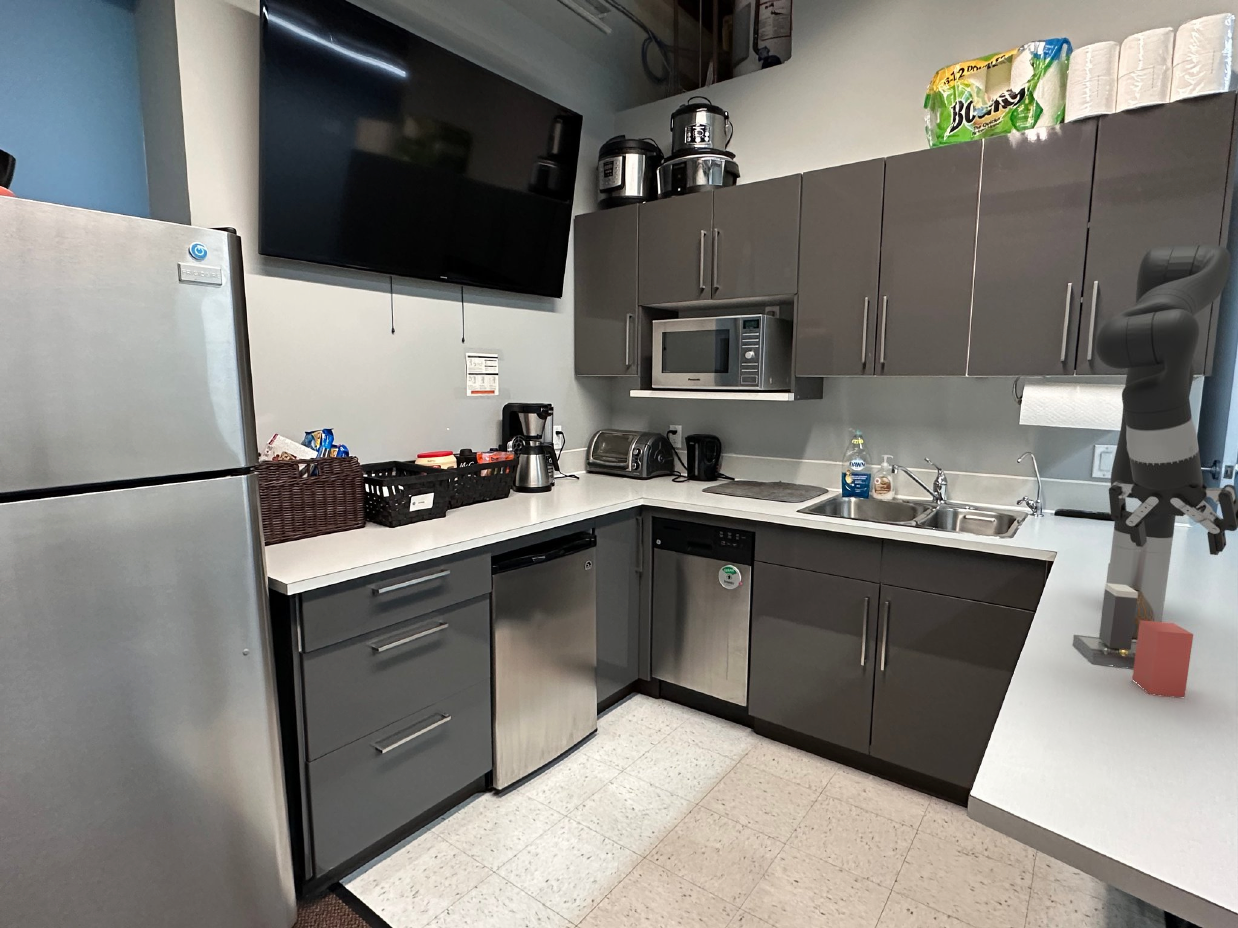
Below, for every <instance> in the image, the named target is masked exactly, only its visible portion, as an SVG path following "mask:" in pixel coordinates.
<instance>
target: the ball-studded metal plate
mask: <svg viewBox="0 0 1238 928" xmlns="http://www.w3.org/2000/svg"><path fill="white" fill-rule="evenodd" d="M1072 639H1073V640H1072V646H1073V647H1074V648H1075V649H1076V650H1077V651H1078V652H1079V653H1080V654H1081V655H1082V656H1083V657H1084V658H1085V659H1086V658H1087V659H1088V660H1087V659H1086V660H1087V661H1088V662H1089V661H1090V662H1091V665H1096V664H1099V665H1098V666H1104V665H1113V666H1116V667H1115V668H1120V667H1128V668H1134V662H1135V655H1136V647H1137V640H1136V641H1133V640H1132V643H1131V650H1127V649H1118V648H1109V647H1108V646H1107V645H1106V644H1105V643H1104V642H1102V641H1101V640H1100V639H1099V636H1090V635H1079V634H1073V638H1072ZM1090 662H1089V663H1090ZM1128 668H1127V669H1128Z"/></svg>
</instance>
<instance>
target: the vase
mask: <svg viewBox="0 0 1238 928" xmlns="http://www.w3.org/2000/svg"><path fill="white" fill-rule="evenodd" d="M1132 589H1133V590H1135V591H1137V592H1138V596H1137V604H1136V612H1135V620H1134V628H1133V635H1132V639H1138V631H1139V623H1140V620H1142V621H1155V615H1154V611H1153V608H1152V606H1151V605H1150V603H1149V602H1148V601H1147V599H1146V598H1145V597H1144V595H1143V592H1142V591H1141V590H1139V589H1136V588H1132Z"/></svg>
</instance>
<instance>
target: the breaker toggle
mask: <svg viewBox="0 0 1238 928" xmlns="http://www.w3.org/2000/svg"><path fill="white" fill-rule="evenodd" d="M1137 596H1138V592H1137V591H1135V590H1133V589H1132V588H1130V587H1129V586H1127V585H1121V584H1110V583H1106V582H1105V586H1104V594H1103V603H1102V608H1101V619H1100V626H1099V627H1100V628H1099V633H1098V637H1099V639H1100V640H1101V641H1102V642H1104V643H1105V644H1106V645H1107V646H1108V647H1109V648H1118V649H1127V650H1131V643H1132V641H1133V638H1132V635H1133V628H1134V620H1135V612H1136V604H1137Z"/></svg>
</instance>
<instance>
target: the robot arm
mask: <svg viewBox="0 0 1238 928" xmlns="http://www.w3.org/2000/svg"><path fill="white" fill-rule="evenodd" d="M1230 267H1231V255H1230V252H1229V249H1227V248H1226V247H1225V246H1222V245H1217V244H1201V245H1198V244H1197V245H1178V246H1177V245H1176V246H1175V245H1173V246H1172V245H1170V246H1158V247H1152V248H1151V249H1149V250H1147V252H1146V253H1145V254H1144V255H1143V258H1142V259H1141V262H1140V265H1139V269H1138V273H1137V280H1136V291H1135V293H1136V294H1135V304H1134V306H1133V307H1130V308H1127V309H1125V310H1123V311H1121V312H1119V313H1118V314H1116V315H1114V316H1112V317H1111V318H1109V319H1108V320H1107V321H1106V322H1105V323H1104V324H1103V325H1102V326H1101V328H1100V330H1099V332H1098V334H1097V336H1096V340H1095V351H1096V355H1097V357H1098V359H1099V360H1100V361H1101V362H1102V363H1103V364H1104V365H1106V366H1108V367H1110V368H1112V369H1119V370H1120V369H1121V370H1122V369H1125V370H1126V369H1127V371H1126V378H1125V384H1124V387H1123V389H1122V392H1121V400H1122V405H1123V406H1122V415H1121V416H1122V417H1121V424H1120V425H1121V426H1120V431H1119V436H1118V440H1117V446H1116V449H1115V454H1114V458H1113V464H1112V468H1111V472H1110V487H1109V489H1108V499H1109V510H1110V518H1111V520H1112V521H1114V525H1113V534H1112V541H1111V551H1110V559H1109V563H1108V565H1107V572H1106V573H1107V574H1106V580H1105V581H1106V582H1105V583H1110V584H1121V585H1127V586H1129V587H1130V588H1136V589H1139V590H1141V591H1142V592H1143V595H1144V597H1145V598H1146V599H1147V601H1148V602H1149V603H1150V605H1151V606H1152V608H1153V611H1154V615H1155V622H1163V618H1164V617H1163V615H1164V609H1165V601H1166V593H1167V588H1168V587H1167V586H1168V578H1169V572H1170V564H1171V557H1172V547H1173V540H1174V532H1175V524H1176V517H1184V516H1185V515H1186V516H1187V517H1188V518H1190V519H1191V520H1192V521H1193V522H1194V523H1197V524H1200V525H1201V526H1202V527H1203V528H1205V529H1206V530H1207V533H1206V535H1207V541H1208V549H1209V550H1208V551H1209V555H1213V556H1218V555H1219V553H1222V552H1223V551H1224V550H1225V548H1226V547H1227V546H1226V545H1227V537H1226V531H1228V532H1235V531H1237V529H1238V494H1237V489H1236V487H1235V485H1233V484H1226V485H1224V486H1223V487H1207V485H1206V484H1205V483H1204V479H1203V472H1202V464H1201V459H1200V450H1199V449H1200V448H1199V443H1198V442H1199V441H1198V436H1197V435H1198V434H1197V429H1196V426H1195V424H1194V421H1193V417H1192V410H1191V409H1192V408H1191V402H1190V401H1191V400H1190V395H1191V390H1192V385H1193V379H1194V375H1195V370H1194V369H1195V368H1194V364H1193V363H1192V362H1193V358H1194V356H1195V352H1196V348H1197V344H1198V342H1199V336H1200V325H1199V323H1198V320H1197V319H1196V317H1195V316H1196V314H1198V313H1199V312H1201V311H1202V310H1204V309H1205V308H1207V306H1209V305H1210V304H1213V302H1214V301H1216V300H1217V298H1218V297H1219V296H1220V295H1221V293H1222V292H1223V290H1224V288H1225V286H1226V283H1227V280H1228V277H1229V273H1230ZM1126 498H1127V499H1128V498H1129V499H1136V500H1138V501H1139V502H1140V504H1139V506H1138V507H1136V509H1135V510H1133V511H1129V510H1127V502H1126V501H1127V500H1126ZM1207 498H1211V499H1212V500H1213V502H1214V503H1215V505H1219V506H1220V511H1221V514H1222V517H1221V516H1220V515H1218V514H1217V513H1216V512H1215V511H1214V510H1213V507H1212V506H1211V505H1210V504H1209V503H1207V502H1206V501H1205V499H1207Z"/></svg>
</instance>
